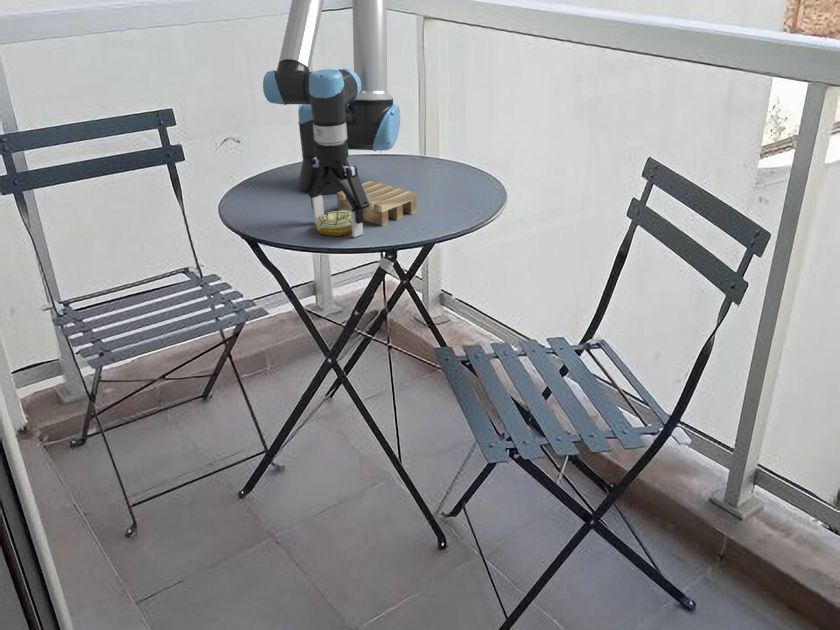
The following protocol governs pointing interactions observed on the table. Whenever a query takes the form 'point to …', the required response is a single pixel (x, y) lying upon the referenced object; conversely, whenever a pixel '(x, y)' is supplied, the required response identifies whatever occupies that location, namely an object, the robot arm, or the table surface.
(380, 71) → the robot arm
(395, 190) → the pallet
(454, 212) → the table surface
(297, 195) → the table surface
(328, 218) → the decorated donut
